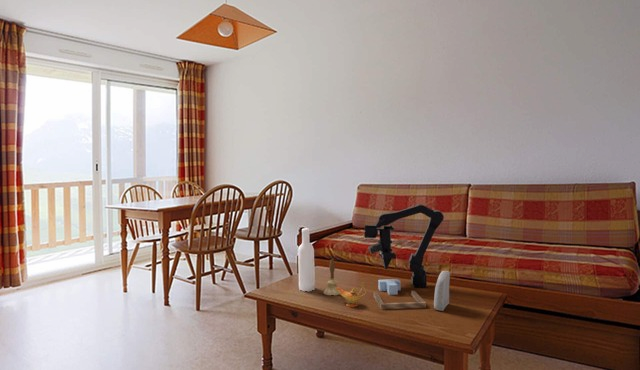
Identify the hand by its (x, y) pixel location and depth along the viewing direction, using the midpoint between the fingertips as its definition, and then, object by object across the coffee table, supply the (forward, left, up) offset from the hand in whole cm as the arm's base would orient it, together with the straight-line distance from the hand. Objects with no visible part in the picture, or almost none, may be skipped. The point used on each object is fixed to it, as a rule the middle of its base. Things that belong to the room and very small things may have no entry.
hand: (385, 269), depth 193 cm
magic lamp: (+22, +26, -8) cm, 35 cm away
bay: (0, +25, -8) cm, 26 cm away
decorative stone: (-16, +34, -8) cm, 38 cm away
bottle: (+40, +3, -8) cm, 41 cm away
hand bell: (+28, +10, -8) cm, 31 cm away
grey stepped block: (0, +10, -8) cm, 13 cm away
